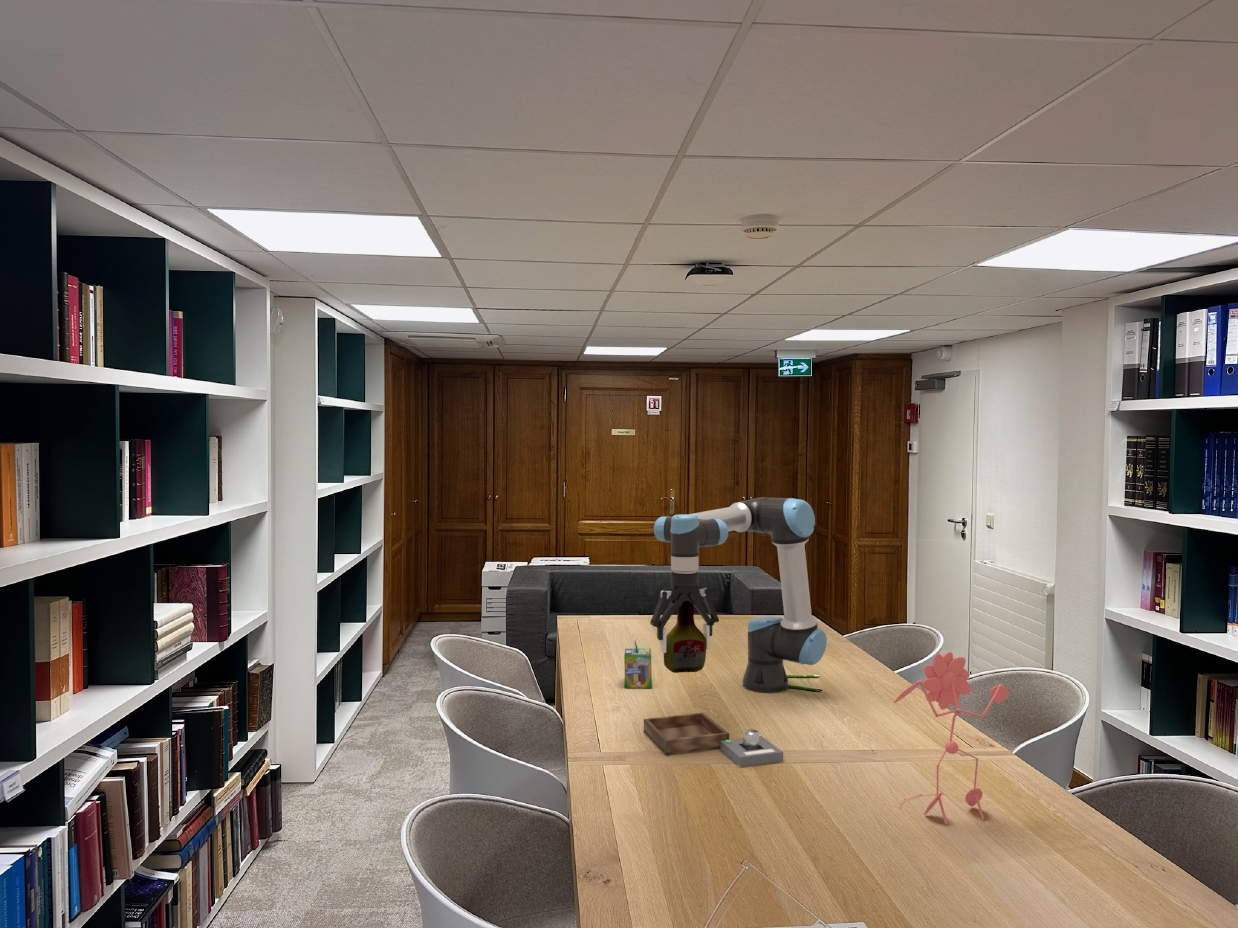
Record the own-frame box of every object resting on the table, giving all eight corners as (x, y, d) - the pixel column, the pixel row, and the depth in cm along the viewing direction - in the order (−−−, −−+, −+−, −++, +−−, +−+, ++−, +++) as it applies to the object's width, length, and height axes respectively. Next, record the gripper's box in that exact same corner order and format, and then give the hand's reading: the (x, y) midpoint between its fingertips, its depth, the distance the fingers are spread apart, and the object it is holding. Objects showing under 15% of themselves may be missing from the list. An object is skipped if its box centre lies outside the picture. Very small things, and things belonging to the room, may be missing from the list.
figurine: (1020, 816, 175) (1017, 654, 175) (915, 831, 168) (912, 663, 168) (972, 789, 190) (970, 640, 190) (874, 802, 183) (872, 647, 183)
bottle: (704, 667, 225) (704, 596, 225) (708, 674, 219) (708, 600, 218) (661, 668, 224) (661, 597, 224) (665, 675, 218) (664, 601, 218)
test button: (754, 745, 213) (754, 728, 213) (761, 750, 209) (761, 733, 209) (740, 746, 212) (740, 730, 212) (747, 752, 208) (747, 735, 208)
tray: (702, 725, 233) (702, 712, 233) (729, 747, 216) (729, 733, 216) (643, 732, 228) (643, 718, 228) (666, 755, 211) (665, 740, 211)
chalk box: (651, 688, 269) (651, 644, 269) (624, 688, 269) (624, 644, 269) (651, 680, 278) (651, 638, 278) (625, 680, 279) (624, 638, 278)
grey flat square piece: (761, 745, 218) (761, 734, 218) (783, 761, 206) (783, 750, 206) (720, 750, 214) (720, 739, 214) (740, 767, 203) (740, 755, 203)
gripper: (719, 567, 228) (719, 643, 229) (638, 571, 221) (638, 649, 222) (731, 570, 221) (731, 649, 222) (647, 575, 214) (647, 656, 214)
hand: (685, 649), depth 222 cm, fingers closed on bottle, 12 cm apart
